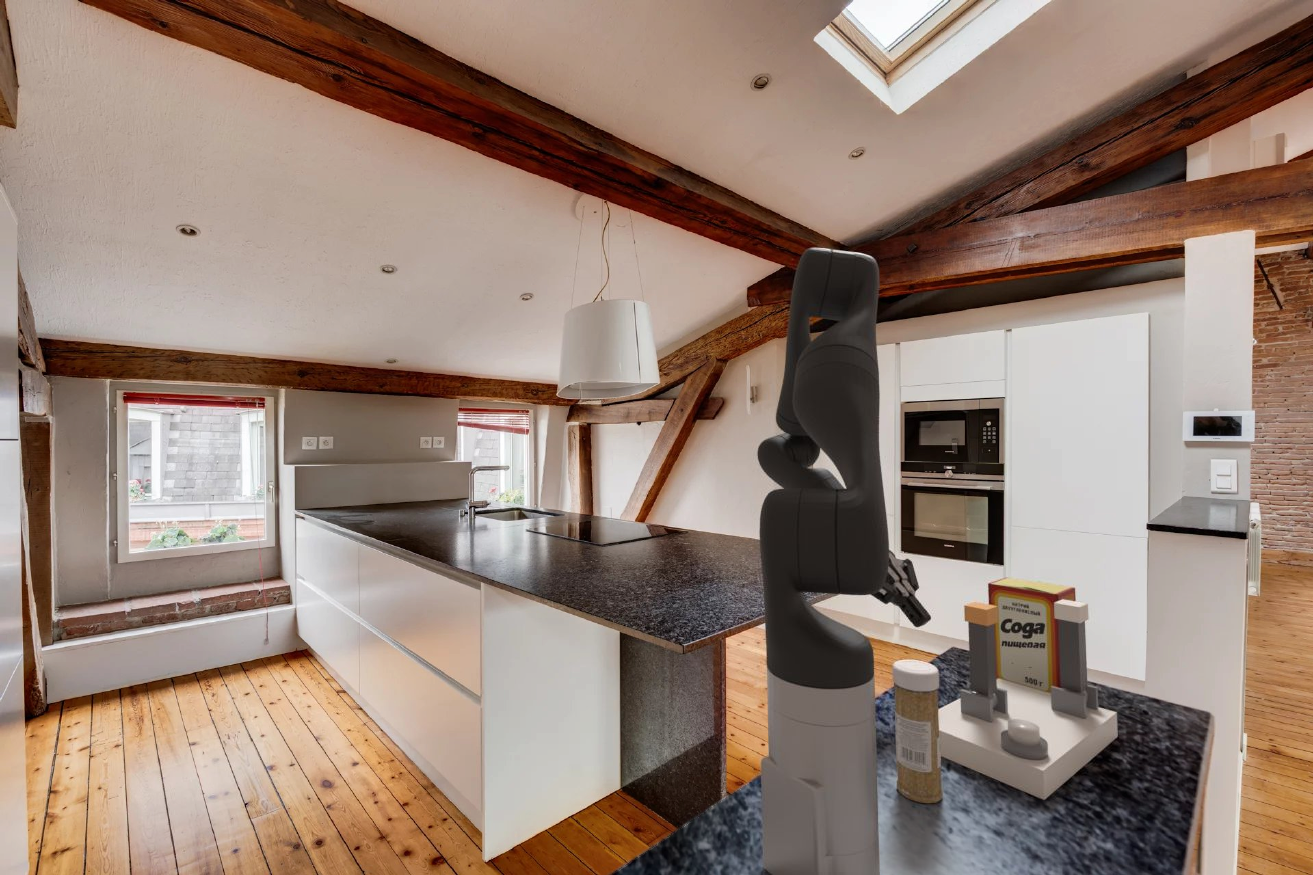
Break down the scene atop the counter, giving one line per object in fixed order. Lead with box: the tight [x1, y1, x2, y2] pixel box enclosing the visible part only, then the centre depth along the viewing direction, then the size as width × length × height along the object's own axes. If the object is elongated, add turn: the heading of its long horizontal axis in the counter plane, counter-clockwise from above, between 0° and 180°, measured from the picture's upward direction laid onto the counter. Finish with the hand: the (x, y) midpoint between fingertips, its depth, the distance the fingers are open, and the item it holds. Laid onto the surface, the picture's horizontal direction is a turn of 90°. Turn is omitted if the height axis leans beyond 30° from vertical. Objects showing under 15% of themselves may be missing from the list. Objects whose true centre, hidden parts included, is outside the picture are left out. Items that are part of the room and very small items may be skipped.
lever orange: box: [963, 601, 998, 707], centre depth 73 cm, size 3×3×13 cm
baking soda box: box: [987, 577, 1077, 693], centre depth 87 cm, size 10×6×16 cm
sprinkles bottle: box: [891, 659, 944, 804], centre depth 61 cm, size 5×5×13 cm
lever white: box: [1054, 599, 1090, 702], centre depth 74 cm, size 3×3×13 cm
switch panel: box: [938, 678, 1119, 801], centre depth 72 cm, size 22×14×6 cm, turn 125°
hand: (924, 623), depth 80 cm, fingers closed
